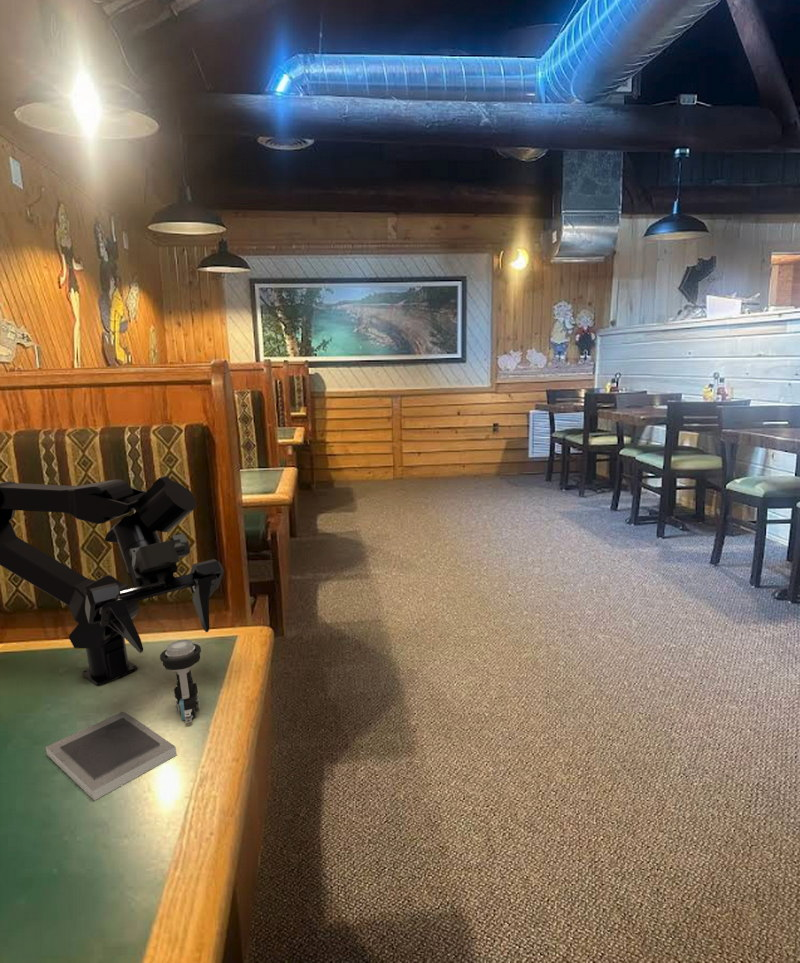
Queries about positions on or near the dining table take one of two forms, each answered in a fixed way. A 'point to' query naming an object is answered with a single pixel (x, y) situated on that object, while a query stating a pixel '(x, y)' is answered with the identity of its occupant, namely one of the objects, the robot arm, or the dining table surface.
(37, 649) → the dining table surface
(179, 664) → the push button
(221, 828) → the dining table surface
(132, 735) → the mounting plate
